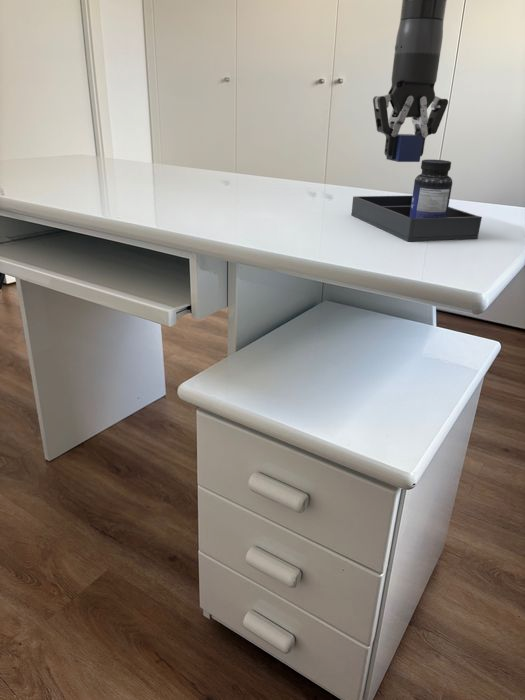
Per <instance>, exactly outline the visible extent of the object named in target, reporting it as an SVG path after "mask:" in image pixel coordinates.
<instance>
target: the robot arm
mask: <svg viewBox="0 0 525 700" xmlns="http://www.w3.org/2000/svg"><path fill="white" fill-rule="evenodd" d="M447 2H448V1H447V0H402V1H401V9H400V16H399V25H398V30H397V34H396V39H395V45H394V54H393V64H392V71H391V87H390V89H389V91H388V93H386V94H384V95H376V96H374V97H373V98H372V103H373V111H374V119H375V126H376V127H375V128H376V131H377V132H378V133H381V134H383V135H384V136H385V145H384V155H385V158H387V159H390V160H389V161H392V160H394V159H395V157H396V149H397V141H398V138H396V136H397V135H398V134H400V133H399V132H400V130H401V127H402V125H404V123H405V120H406V118H407V119H409V118H411V123H412V125H413V130H414V135H421V136H423V142H422V149H421V156H420V157H422V156H423V154H424V150H425V143H426V139H427V137H428V136H430V135H435V134H436V133H438V129H439V127H440V124H441V122H442V120H443V117H444V115H445V111H446V110H447V108H448V105H449V100H448V98H441V97H439V96H437V95H436V93H435V92H436V91H435V85H436V82H437V78H438V71H439V66H440V65H439V64H440V59H441V52H442V46H443V38H444V21H445V14H446V8H447ZM389 104H390V105H389ZM389 106H391V108H392V110H391V112H390V115H389V113H388V108H389ZM429 107H430V108H431V110H430V113H429V115H428V108H429ZM387 159H386V160H387Z"/></svg>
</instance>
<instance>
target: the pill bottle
mask: <svg viewBox="0 0 525 700" xmlns="http://www.w3.org/2000/svg"><path fill="white" fill-rule="evenodd" d="M451 167H452V161H450V160H444V159H422V160H421V163H420V169H421V173H420V174H418V175H417V176H416V177H415V179H414V181H413V182H414V184H413V190H412V195H411V196H412V203H411V210H410V218H412V219H413V218H445V217H447V212H448V207H450V206H449V205H450V199H451V194H452V187H453V178H451V176H449V171H451Z"/></svg>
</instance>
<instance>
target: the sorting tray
mask: <svg viewBox="0 0 525 700" xmlns="http://www.w3.org/2000/svg"><path fill="white" fill-rule="evenodd" d="M412 196H413V195H365V196H364V195H359V196H358V195H355V196H352V205H351V214H350V215H351V216H352V217H354V218H356V219H359V220H361V221H363V222H365V223H368V224H369V225H371V226H374V227H376V228H378V229H380V230H382V231H385V232H386V233H389V234H391V235H393V236H395V237H397V238H399V239H401V240H403V241H406V242H431V241H430V240H433V241H451V240H450V239H458V240H477V239H478V238H479V235H480V229H481V225H482V224H481V223H482V219H483V217H482V216H479V215H478V214H477V215H476V214H473V213H470V212H467V211H463V210H460V209H457V208H454V207H451V206H448V212H447V217H445V218H413V219H412V218H410V210H411V203H412Z"/></svg>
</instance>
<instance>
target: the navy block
mask: <svg viewBox="0 0 525 700" xmlns="http://www.w3.org/2000/svg"><path fill="white" fill-rule="evenodd" d="M396 138H398V141H397V149H396V157H395V159H394V160H390V159H387V157H385V159H386V160H387V161H388V160H389V161H393V162H397V163H420V161H421V157H422V156H421V149H422V142H423V136H421V135H415V134H411V133H398V135H397V136H396Z"/></svg>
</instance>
